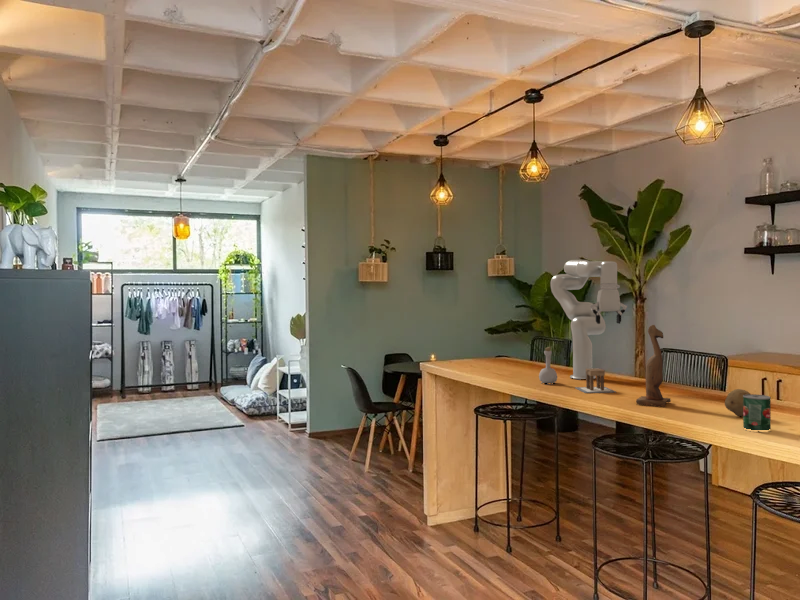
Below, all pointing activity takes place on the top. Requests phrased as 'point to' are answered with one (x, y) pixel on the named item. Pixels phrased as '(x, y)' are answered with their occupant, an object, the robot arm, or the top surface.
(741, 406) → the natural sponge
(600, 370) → the stool
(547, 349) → the potion bottle
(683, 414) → the top surface
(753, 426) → the canned tomato
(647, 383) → the bird sculpture
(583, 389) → the mat
